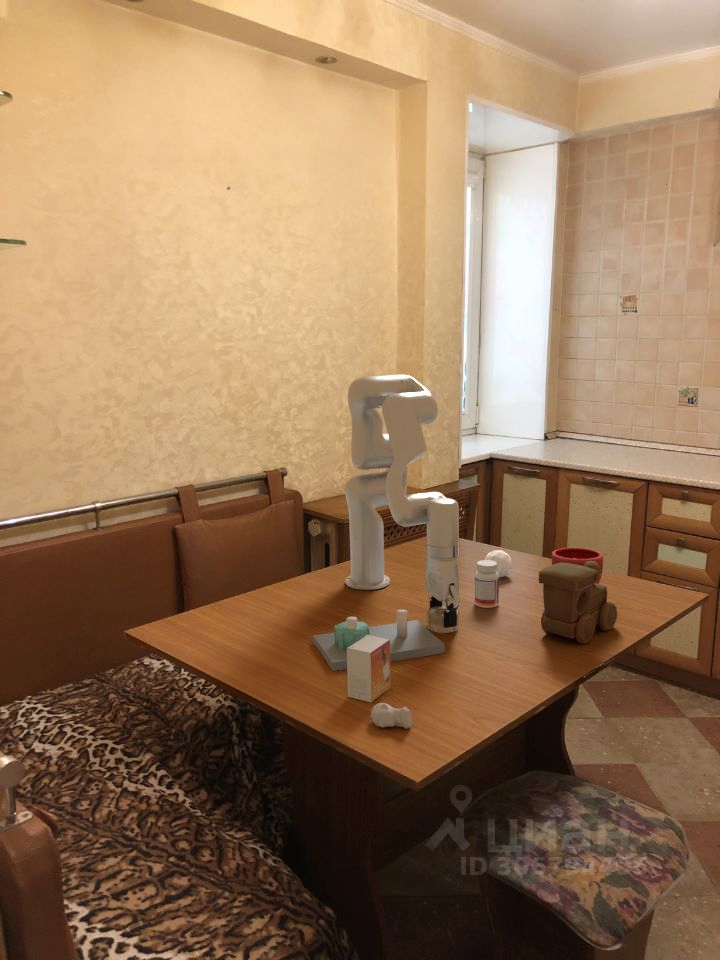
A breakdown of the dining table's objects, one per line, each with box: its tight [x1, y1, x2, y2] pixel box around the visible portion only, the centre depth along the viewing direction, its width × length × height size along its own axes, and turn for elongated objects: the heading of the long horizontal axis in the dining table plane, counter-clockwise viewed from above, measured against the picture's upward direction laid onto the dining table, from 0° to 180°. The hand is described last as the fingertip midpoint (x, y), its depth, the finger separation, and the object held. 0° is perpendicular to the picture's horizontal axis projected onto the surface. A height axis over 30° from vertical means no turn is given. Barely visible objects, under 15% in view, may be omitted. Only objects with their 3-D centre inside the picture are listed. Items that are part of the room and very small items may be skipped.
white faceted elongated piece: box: [484, 549, 513, 578], centre depth 230 cm, size 8×8×12 cm
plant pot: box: [551, 547, 604, 584], centre depth 210 cm, size 13×13×12 cm
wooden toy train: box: [538, 561, 618, 645], centre depth 185 cm, size 20×11×17 cm, turn 135°
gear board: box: [312, 609, 446, 672], centre depth 180 cm, size 16×26×8 cm, turn 109°
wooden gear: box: [426, 605, 460, 634], centre depth 192 cm, size 7×8×4 cm
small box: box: [346, 635, 392, 703], centre depth 158 cm, size 8×6×10 cm
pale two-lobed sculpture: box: [370, 702, 413, 729], centre depth 146 cm, size 4×8×5 cm
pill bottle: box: [474, 559, 500, 609], centre depth 206 cm, size 6×6×11 cm
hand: (443, 620), depth 192 cm, fingers closed on wooden gear, 7 cm apart
